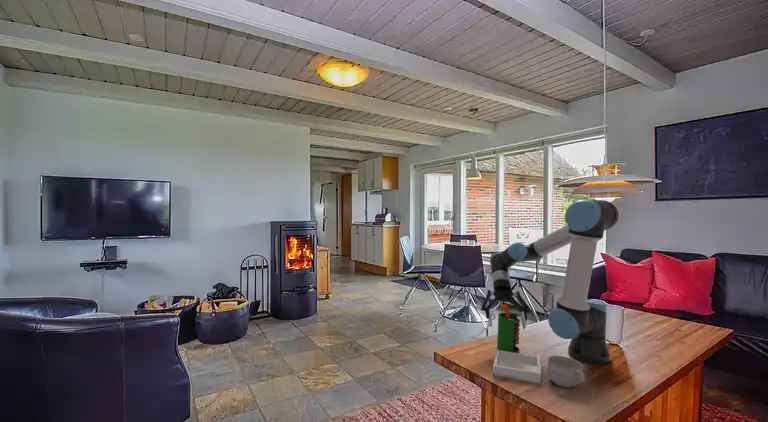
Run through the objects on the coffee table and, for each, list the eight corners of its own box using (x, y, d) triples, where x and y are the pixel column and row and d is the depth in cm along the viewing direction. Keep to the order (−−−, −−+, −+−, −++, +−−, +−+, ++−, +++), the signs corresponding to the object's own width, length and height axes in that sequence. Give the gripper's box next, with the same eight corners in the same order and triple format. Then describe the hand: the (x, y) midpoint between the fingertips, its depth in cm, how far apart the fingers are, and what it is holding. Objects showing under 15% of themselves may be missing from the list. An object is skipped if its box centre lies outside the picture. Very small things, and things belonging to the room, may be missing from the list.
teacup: (541, 376, 135) (541, 354, 135) (569, 375, 136) (570, 354, 136) (562, 396, 121) (563, 372, 121) (594, 395, 122) (595, 371, 122)
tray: (539, 365, 144) (539, 356, 144) (540, 383, 130) (540, 373, 129) (496, 358, 150) (496, 349, 150) (492, 375, 135) (493, 365, 135)
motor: (521, 359, 150) (522, 309, 149) (498, 357, 152) (499, 308, 151) (517, 349, 160) (518, 303, 159) (495, 347, 162) (496, 301, 161)
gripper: (528, 288, 171) (536, 332, 157) (472, 286, 174) (476, 328, 159) (531, 279, 166) (541, 323, 151) (474, 277, 169) (478, 320, 154)
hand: (507, 326), depth 155 cm, fingers open, 13 cm apart
